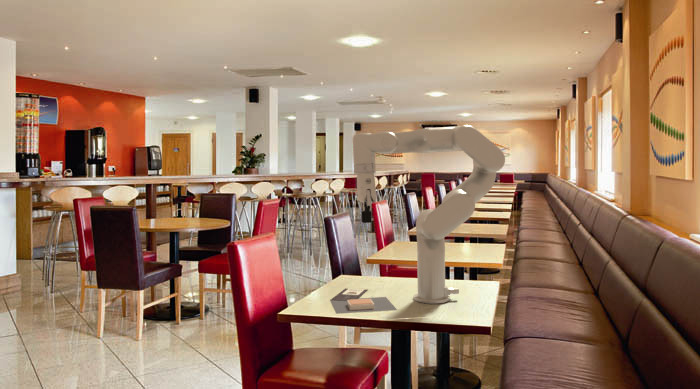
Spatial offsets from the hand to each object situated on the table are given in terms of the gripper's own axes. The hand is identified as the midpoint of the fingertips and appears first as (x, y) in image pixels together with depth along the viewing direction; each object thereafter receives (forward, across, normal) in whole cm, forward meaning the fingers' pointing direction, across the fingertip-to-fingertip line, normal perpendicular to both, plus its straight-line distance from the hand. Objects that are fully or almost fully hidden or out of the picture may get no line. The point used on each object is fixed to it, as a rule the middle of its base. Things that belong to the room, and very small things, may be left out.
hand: (366, 222), depth 194 cm
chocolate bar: (+28, +10, +5) cm, 30 cm away
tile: (+26, -4, +5) cm, 27 cm away
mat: (+28, -6, +4) cm, 28 cm away
